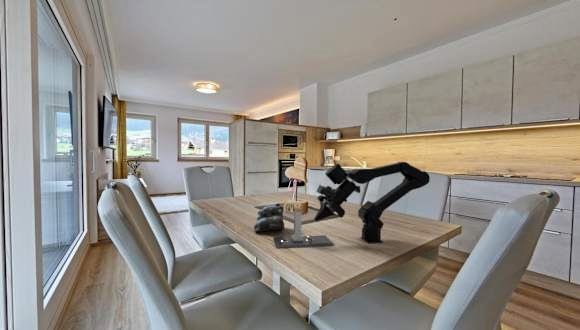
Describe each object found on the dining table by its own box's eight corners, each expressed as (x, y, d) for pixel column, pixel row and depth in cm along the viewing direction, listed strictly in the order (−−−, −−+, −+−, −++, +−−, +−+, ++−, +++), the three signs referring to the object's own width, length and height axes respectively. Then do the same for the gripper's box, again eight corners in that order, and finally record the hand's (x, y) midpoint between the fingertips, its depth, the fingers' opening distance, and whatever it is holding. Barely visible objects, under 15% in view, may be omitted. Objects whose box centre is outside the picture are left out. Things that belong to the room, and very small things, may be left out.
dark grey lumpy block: (247, 232, 103) (249, 202, 110) (263, 236, 113) (264, 208, 119) (275, 227, 97) (275, 195, 103) (290, 232, 106) (289, 203, 112)
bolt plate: (325, 237, 99) (325, 231, 99) (332, 245, 90) (332, 238, 90) (273, 239, 95) (273, 233, 95) (275, 248, 86) (275, 241, 86)
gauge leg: (301, 237, 95) (301, 207, 94) (303, 241, 90) (304, 209, 90) (291, 237, 94) (291, 207, 94) (293, 241, 90) (293, 209, 89)
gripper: (322, 176, 103) (296, 201, 101) (338, 180, 85) (307, 211, 83) (338, 194, 105) (313, 219, 103) (357, 202, 86) (327, 232, 85)
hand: (315, 220), depth 93 cm, fingers closed
